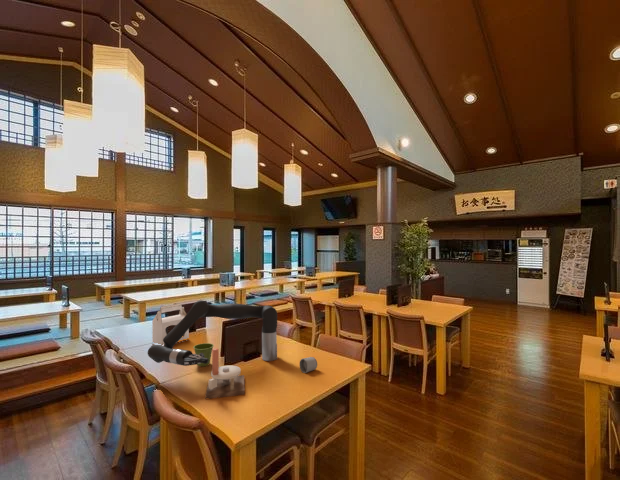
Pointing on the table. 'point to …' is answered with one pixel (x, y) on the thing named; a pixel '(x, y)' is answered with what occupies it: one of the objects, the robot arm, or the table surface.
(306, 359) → the ceramic mug
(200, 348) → the plant pot
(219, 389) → the post base
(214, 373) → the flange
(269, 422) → the table surface
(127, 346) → the table surface
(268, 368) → the table surface
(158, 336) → the gable box
